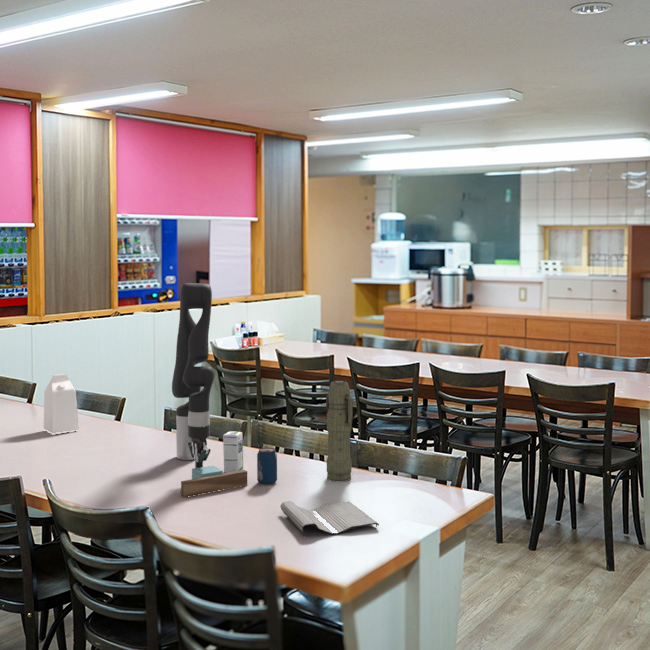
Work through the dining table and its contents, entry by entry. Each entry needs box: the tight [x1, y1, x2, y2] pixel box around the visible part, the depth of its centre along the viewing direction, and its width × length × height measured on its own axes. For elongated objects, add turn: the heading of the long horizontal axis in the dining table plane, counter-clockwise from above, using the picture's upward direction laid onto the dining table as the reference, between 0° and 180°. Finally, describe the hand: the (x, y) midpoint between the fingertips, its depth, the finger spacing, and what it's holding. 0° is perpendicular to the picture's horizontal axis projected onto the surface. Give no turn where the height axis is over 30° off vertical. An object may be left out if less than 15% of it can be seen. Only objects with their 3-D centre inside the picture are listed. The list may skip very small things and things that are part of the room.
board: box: [180, 469, 248, 498], centre depth 267 cm, size 2×24×5 cm, turn 127°
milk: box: [43, 373, 80, 433], centre depth 356 cm, size 12×12×26 cm
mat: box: [280, 500, 380, 535], centre depth 236 cm, size 23×24×5 cm
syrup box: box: [222, 430, 244, 473], centre depth 290 cm, size 6×6×14 cm
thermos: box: [325, 379, 354, 482], centre depth 281 cm, size 9×12×35 cm
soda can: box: [256, 447, 278, 486], centre depth 275 cm, size 7×7×12 cm
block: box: [191, 465, 224, 479], centre depth 271 cm, size 8×8×6 cm
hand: (199, 471), depth 276 cm, fingers closed
